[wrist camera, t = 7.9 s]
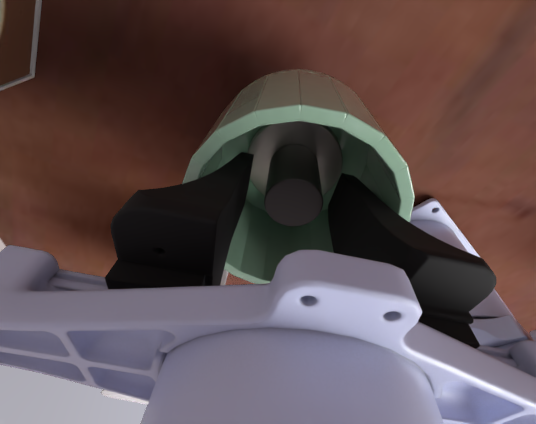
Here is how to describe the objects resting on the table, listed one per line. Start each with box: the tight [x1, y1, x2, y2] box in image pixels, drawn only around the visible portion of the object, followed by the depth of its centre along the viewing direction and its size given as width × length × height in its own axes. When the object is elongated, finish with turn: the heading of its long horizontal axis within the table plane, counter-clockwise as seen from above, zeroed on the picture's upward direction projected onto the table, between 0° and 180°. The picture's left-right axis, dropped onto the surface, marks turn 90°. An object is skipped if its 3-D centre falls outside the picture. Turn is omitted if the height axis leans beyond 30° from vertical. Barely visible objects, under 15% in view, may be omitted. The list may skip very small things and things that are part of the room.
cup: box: [182, 69, 415, 284], centre depth 13 cm, size 9×9×6 cm
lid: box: [247, 121, 343, 226], centre depth 13 cm, size 5×5×4 cm
